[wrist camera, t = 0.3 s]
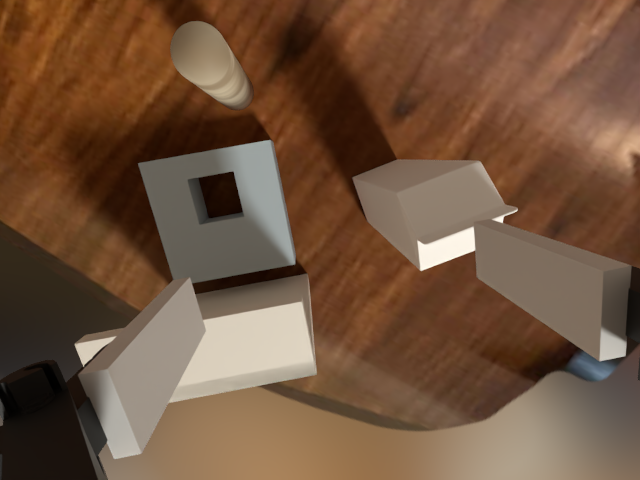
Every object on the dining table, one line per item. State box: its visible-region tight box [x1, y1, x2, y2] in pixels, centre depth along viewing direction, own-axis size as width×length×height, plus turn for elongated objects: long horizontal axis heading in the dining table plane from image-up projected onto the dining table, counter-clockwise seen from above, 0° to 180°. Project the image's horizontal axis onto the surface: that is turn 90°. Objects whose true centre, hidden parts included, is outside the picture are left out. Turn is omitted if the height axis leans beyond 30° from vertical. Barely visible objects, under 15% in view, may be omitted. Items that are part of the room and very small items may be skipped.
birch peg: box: [170, 21, 254, 110], centre depth 30 cm, size 4×4×14 cm
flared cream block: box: [75, 274, 317, 403], centre depth 33 cm, size 6×16×19 cm, turn 100°
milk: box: [352, 160, 518, 271], centre depth 30 cm, size 6×6×22 cm
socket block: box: [138, 140, 296, 283], centre depth 38 cm, size 14×14×4 cm
